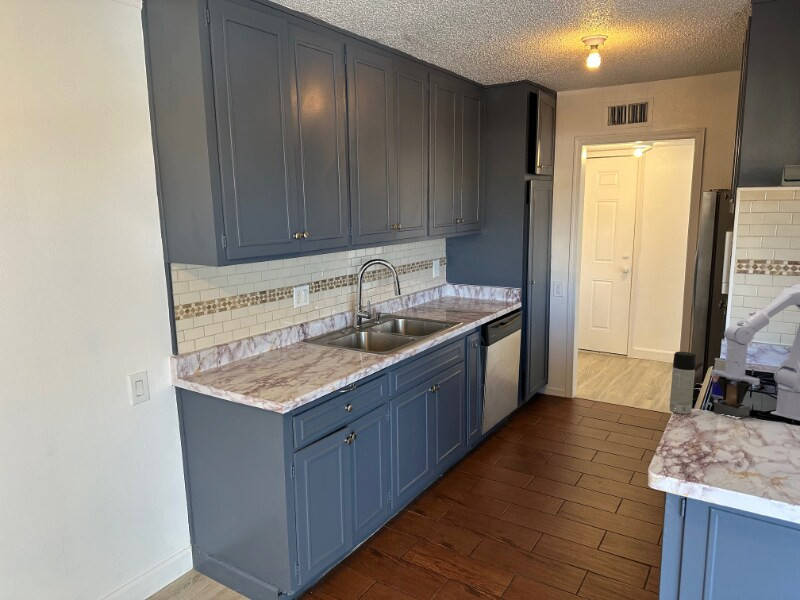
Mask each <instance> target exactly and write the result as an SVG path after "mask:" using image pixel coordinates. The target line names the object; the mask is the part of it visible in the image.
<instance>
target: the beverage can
mask: <svg viewBox="0 0 800 600" xmlns="http://www.w3.org/2000/svg"><path fill="white" fill-rule="evenodd" d="M725 367H726V358H722V357H720V358H719V357H715V358H714V362H713V370H718V371H725ZM717 379H719V377H716V376H712V386H711V397H712V398H713V399H714V398H716V399H723V396H722V392H721V389H720V386H719V384H718V382H717ZM716 399H715V400H716Z"/></svg>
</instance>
